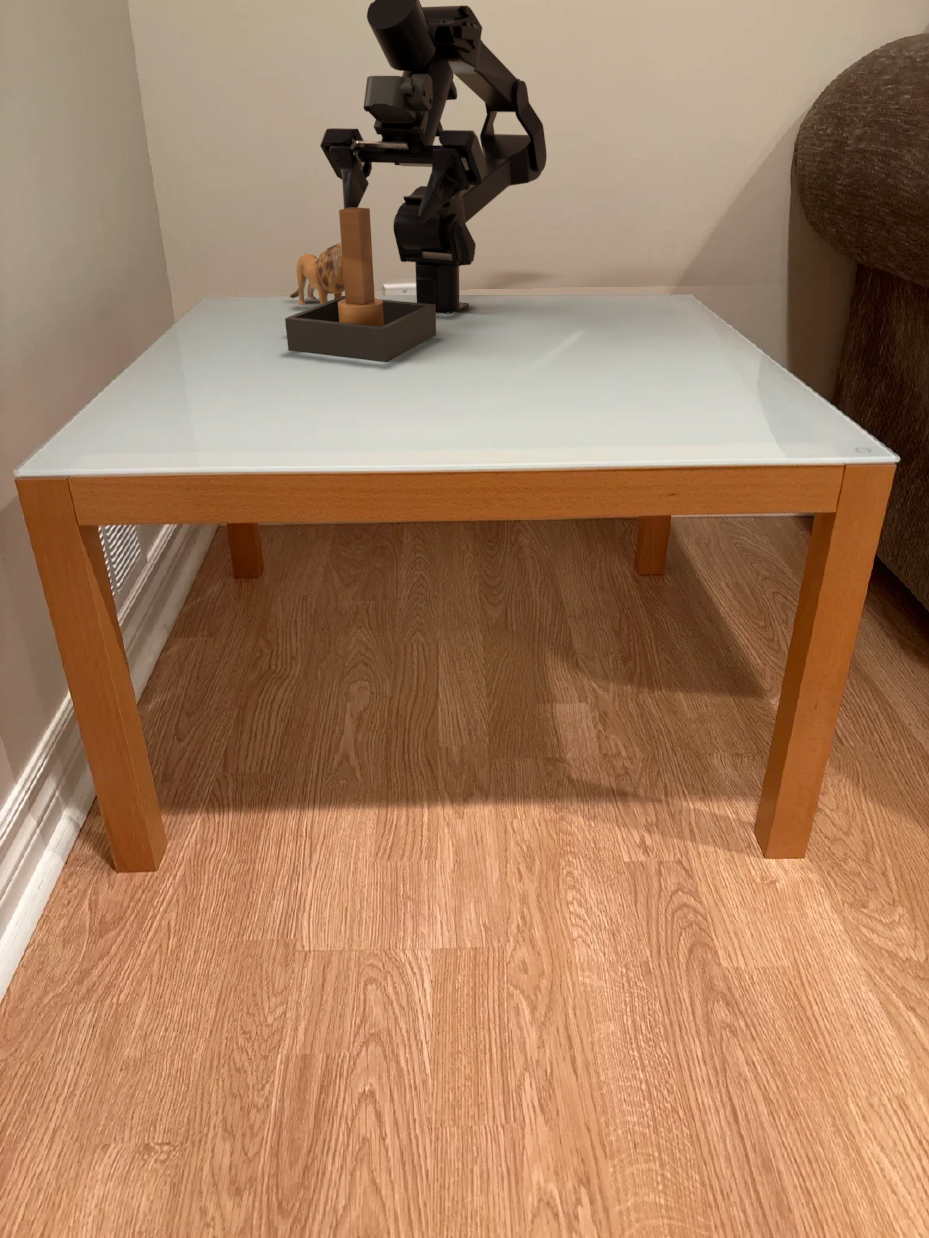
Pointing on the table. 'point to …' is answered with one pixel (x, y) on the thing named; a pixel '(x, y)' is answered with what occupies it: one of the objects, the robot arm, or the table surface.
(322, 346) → the box
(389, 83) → the robot arm
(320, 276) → the lion figurine
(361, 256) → the wooden peg stand
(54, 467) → the table surface
